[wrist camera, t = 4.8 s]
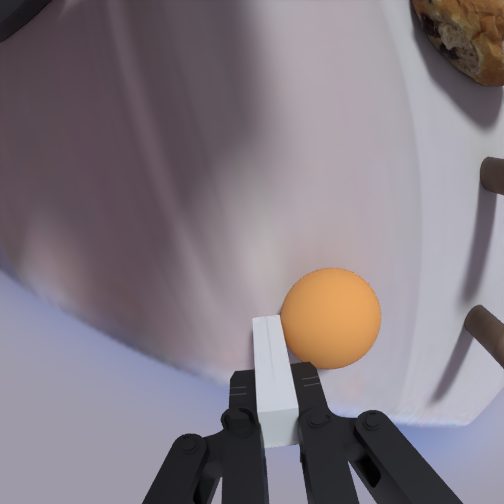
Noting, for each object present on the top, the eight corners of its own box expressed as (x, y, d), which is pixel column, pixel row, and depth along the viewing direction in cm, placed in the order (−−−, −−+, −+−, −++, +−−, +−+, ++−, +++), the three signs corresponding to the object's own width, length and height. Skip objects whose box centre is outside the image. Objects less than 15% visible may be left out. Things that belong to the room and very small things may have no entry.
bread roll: (472, 95, 16) (546, 97, 9) (425, 76, 12) (539, 70, 5) (442, 2, 12) (509, -7, 5) (379, -41, 9) (468, -69, 2)
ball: (260, 268, 16) (298, 319, 11) (346, 244, 17) (405, 278, 11) (274, 344, 18) (306, 404, 13) (348, 318, 18) (395, 364, 13)
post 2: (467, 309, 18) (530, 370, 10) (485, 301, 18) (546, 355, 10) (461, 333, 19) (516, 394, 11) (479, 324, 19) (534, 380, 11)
